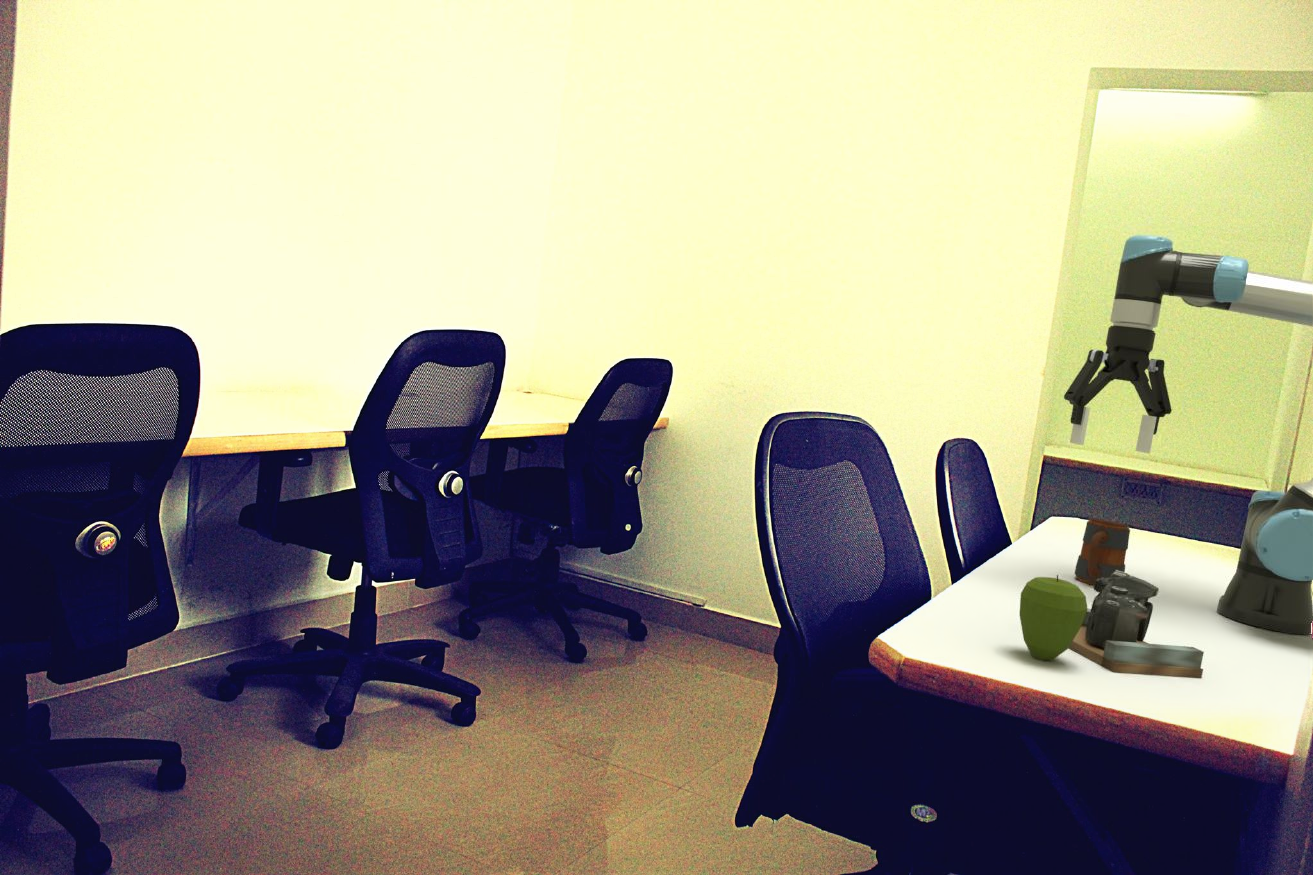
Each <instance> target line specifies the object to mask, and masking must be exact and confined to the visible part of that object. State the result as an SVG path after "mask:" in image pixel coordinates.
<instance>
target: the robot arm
mask: <svg viewBox="0 0 1313 875" xmlns="http://www.w3.org/2000/svg"><path fill="white" fill-rule="evenodd" d="M1249 267H1250V266H1249V262H1248V260H1247V259H1246V258H1244V257H1242V258H1241V257H1236V256H1231V255H1228V254H1225V255H1219V254H1217V255H1216V254H1207V253H1205V254H1203V253H1192V252H1182V251H1177V250H1174V248H1173V241H1172V240H1171V239H1170V238H1168V237H1164V236H1156V235H1149V234H1147V235H1146V234H1142V235H1141V234H1139V235H1138V234H1137V235H1133V236H1130V237H1128V238H1127V239H1126V241H1125V243H1124V247H1123V251H1122V255H1121V259H1120V263H1119V269H1118V274H1117V275H1118V276H1117V279H1116V280H1117V281H1116V287H1115V293H1114V298H1113V303H1112V308H1111V312H1110V313H1111V314H1110V320H1109V321H1110V322H1111V323H1112V325H1110V326H1109V327H1108V330H1107V335H1106V341H1105V346H1106V351H1103V350H1099V349H1090V350H1089V351H1088V354H1087V358H1086V361H1085V362H1084V364H1083V366H1082V367H1081V369H1080V371H1079V372H1078V374H1076V377H1075V378H1074V379H1073V380H1072V383H1070V384H1071V385H1069V387H1068V389H1067V390H1066V392H1065V393H1064V396H1063V399H1064V400H1066V401H1068V402H1069V405H1072V410H1071V416H1070V424H1072V428H1071V434H1070V440H1069V443H1071V444H1075V445H1079V446H1084V444H1085V438H1086V432H1087V427H1088V422H1089V416H1090V411H1091V407H1086V406H1087V405H1088V404H1089V403H1090V402H1091V401H1092V400H1093V399H1094V398H1095V397H1096V396H1097V395H1098V394H1099V393H1100V392H1101V391H1102V390H1103V389H1104V388H1105V387H1107V386H1108V384H1109V383H1111V382H1112V381H1114V380H1119V381H1124V382H1130V383H1131V384H1132V385H1133V387H1134V389H1135V390H1136V394H1137V395H1138V397H1139V399H1140V401H1141V404H1142V405H1143V407H1144V410H1145V411H1146V414H1142V416H1141V419H1140V420H1141V421H1140V425H1139V432H1138V436H1137V443H1136V445H1135V446H1136V447H1135V451H1136V452H1139V453H1144V454H1149V455H1150V453H1151V449H1152V444H1153V439H1154V435H1156V434H1157V432H1158V426H1159V422H1160V418H1164V417H1165V416H1166V415H1170V414H1171V413H1172V409H1173V408H1172V405H1171V401H1170V397H1169V396H1170V395H1169V392H1168V387H1167V382H1166V377H1165V373H1164V372H1165V363H1166V362H1165V360H1164V359H1159V358H1158V359H1157V358H1150V357H1149V356H1150V353H1151V352H1152V351H1153V350H1154V349H1153V348H1154V344H1155V339H1156V338H1155V337H1156V331H1154V329H1155V328H1157V327H1158V323H1159V318H1160V312H1161V308H1162V307H1161V306H1162V300H1163V297H1164V296H1169V297H1175V298H1176V297H1178V298H1180V299H1182V301H1183V303H1185V304H1187V305H1189V306H1191V307H1195V308H1210V309H1211V308H1212V309H1216V310H1221V311H1228V312H1232V313H1233V312H1234V313H1239V314H1245V315H1248V316H1249V315H1250V316H1255V317H1260V318H1265V319H1271V320H1275V321H1276V320H1277V321H1282V322H1288V323H1292V324H1297V325H1301V326H1302V325H1303V326H1309V327H1313V281H1312V280H1306V279H1301V278H1295V277H1289V276H1283V275H1279V274H1278V275H1277V274H1270V273H1265V272H1261V271H1253V270H1249ZM1102 364H1104V366H1103V367H1102V368H1101V369H1100V367H1101V365H1102ZM1099 369H1100V370H1099ZM1098 370H1099V371H1098ZM1146 370H1147V371H1148V375H1147V372H1146ZM1096 373H1097V375H1096ZM1095 375H1096V376H1095ZM1094 376H1095V377H1094ZM1093 377H1094V378H1093ZM1247 508H1248V512H1247V518H1246V523H1245V528H1244V532H1243V538H1242V541H1241V542H1242V543H1241V547H1240V552H1239V557H1238V560H1237V565H1236V570H1235V573H1234V575H1233V577H1232V578H1231V580H1230V581H1229V584H1227V587H1226V589H1225V591H1224V594H1222V595H1221V596H1220V597H1219V600H1218V603H1217V607H1216V612H1218V613H1219V614H1221V615H1222V616H1225V617H1227V618H1229V619H1231V620H1234V621H1237V622H1241V623H1243V624H1247V625H1249V626H1253V627H1258V628H1262V629H1266V630H1271V631H1276V632H1281V633H1287V634H1293V635H1294V634H1295V635H1312V634H1311V623H1312V621H1313V597H1312V596H1313V595H1312V584H1313V477H1312V478H1311V479H1310V480H1308V481H1304V482H1303V481H1302V482H1297V483H1293V484H1292V485H1291V487H1289V489H1288V490H1287V491H1286V492H1283V491H1275V490H1273V491H1271V490H1266V489H1265V490H1264V489H1263V490H1262V489H1261V490H1257V491H1255V492H1254V493H1253V494H1252V496H1251V499H1250V502H1249V503H1248V507H1247Z"/></svg>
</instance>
